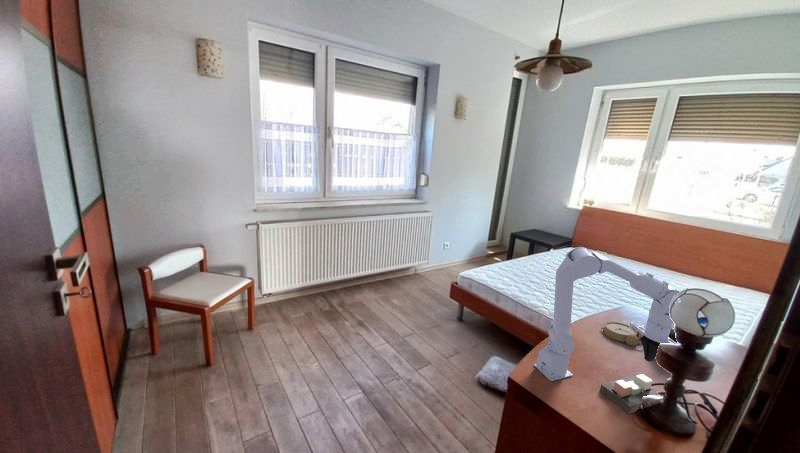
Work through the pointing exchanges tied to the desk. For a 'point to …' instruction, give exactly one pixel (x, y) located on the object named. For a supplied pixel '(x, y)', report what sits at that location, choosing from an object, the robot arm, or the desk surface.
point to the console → (626, 402)
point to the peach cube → (622, 388)
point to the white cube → (643, 381)
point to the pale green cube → (634, 388)
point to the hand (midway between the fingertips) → (648, 359)
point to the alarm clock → (622, 333)
